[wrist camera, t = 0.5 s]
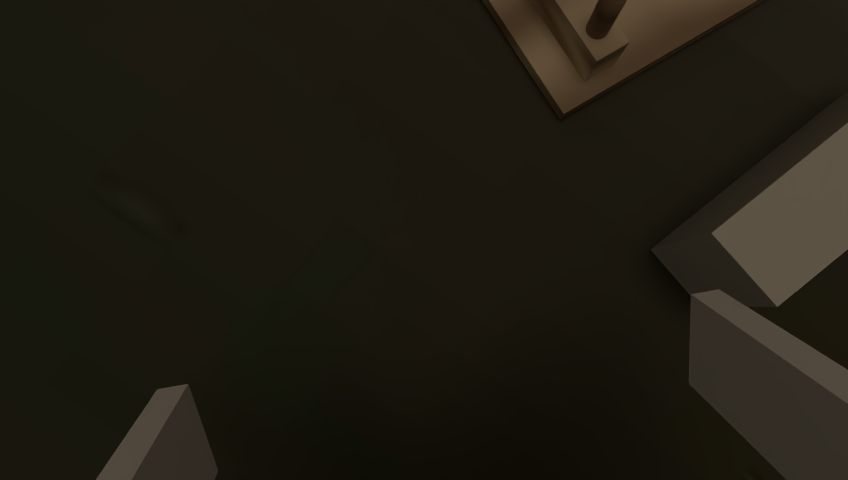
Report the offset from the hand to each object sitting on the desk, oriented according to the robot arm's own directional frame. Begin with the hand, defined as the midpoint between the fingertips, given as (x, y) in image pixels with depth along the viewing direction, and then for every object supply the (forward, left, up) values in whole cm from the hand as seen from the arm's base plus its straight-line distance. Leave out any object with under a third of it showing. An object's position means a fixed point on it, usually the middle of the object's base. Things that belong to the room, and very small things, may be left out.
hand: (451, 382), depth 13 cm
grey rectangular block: (-2, -19, -16) cm, 25 cm away
